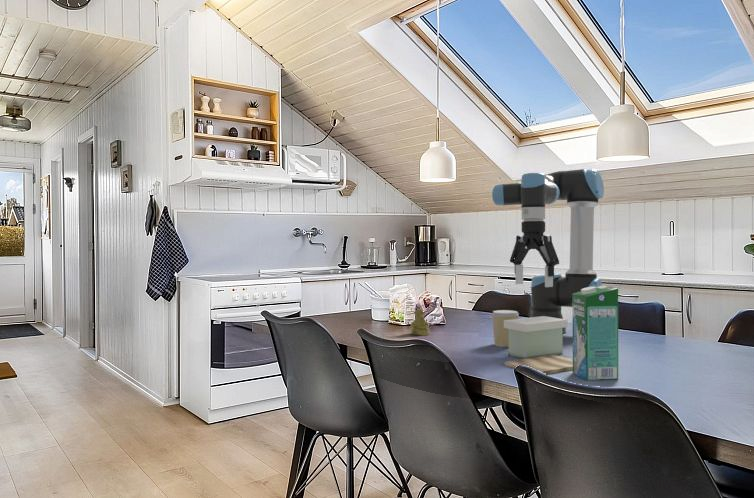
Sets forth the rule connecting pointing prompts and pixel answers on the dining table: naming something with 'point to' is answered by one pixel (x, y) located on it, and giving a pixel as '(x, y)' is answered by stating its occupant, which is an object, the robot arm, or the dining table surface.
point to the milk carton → (595, 333)
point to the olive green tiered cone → (419, 324)
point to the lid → (535, 323)
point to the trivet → (545, 363)
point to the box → (535, 343)
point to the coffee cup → (502, 326)
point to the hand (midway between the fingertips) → (533, 285)
